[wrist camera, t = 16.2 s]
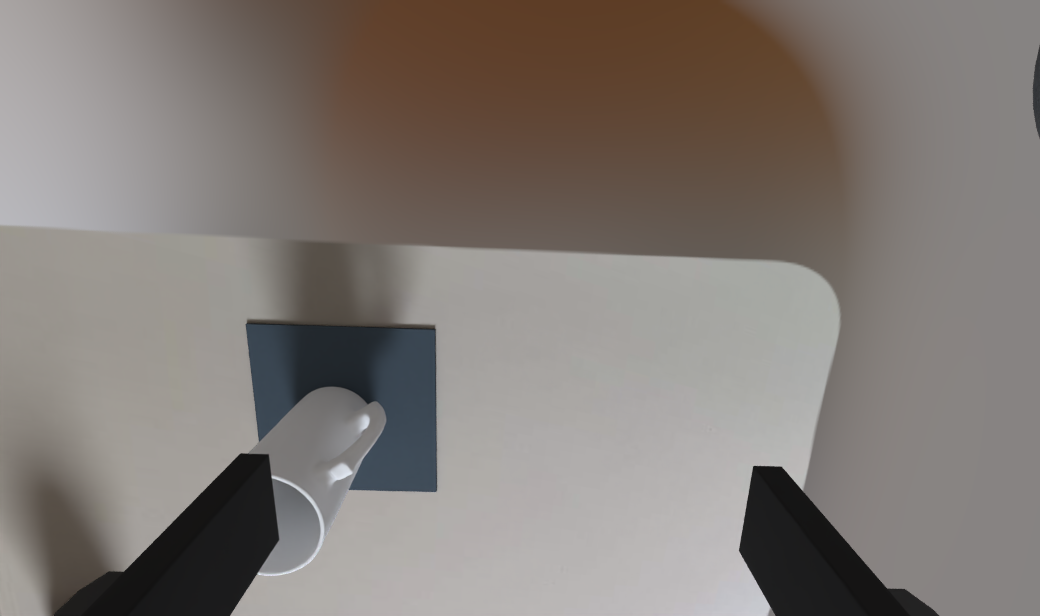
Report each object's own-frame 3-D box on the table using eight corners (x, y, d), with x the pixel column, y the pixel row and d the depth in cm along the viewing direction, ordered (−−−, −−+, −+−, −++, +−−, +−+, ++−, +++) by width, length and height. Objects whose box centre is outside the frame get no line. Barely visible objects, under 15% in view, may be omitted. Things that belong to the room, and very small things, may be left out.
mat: (435, 329, 38) (434, 330, 38) (436, 490, 42) (436, 492, 42) (247, 323, 38) (245, 324, 37) (265, 486, 41) (264, 487, 41)
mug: (327, 474, 41) (254, 594, 29) (274, 410, 39) (175, 511, 28) (430, 413, 40) (396, 514, 28) (379, 345, 38) (321, 422, 26)
